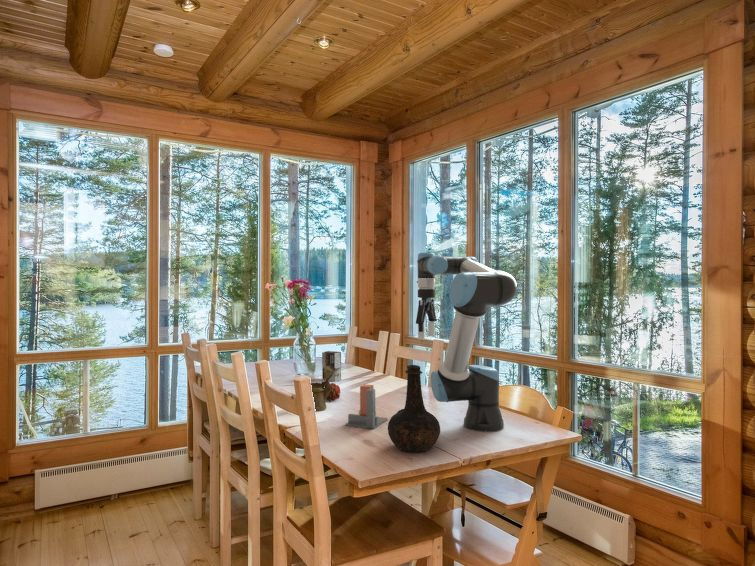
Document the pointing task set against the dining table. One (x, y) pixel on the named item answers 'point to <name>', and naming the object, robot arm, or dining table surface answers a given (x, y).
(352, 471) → the dining table surface
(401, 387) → the dining table surface
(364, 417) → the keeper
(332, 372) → the brass mortar and pestle
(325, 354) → the coffee box
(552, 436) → the dining table surface
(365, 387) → the link bar
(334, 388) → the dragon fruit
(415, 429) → the glass bottle
